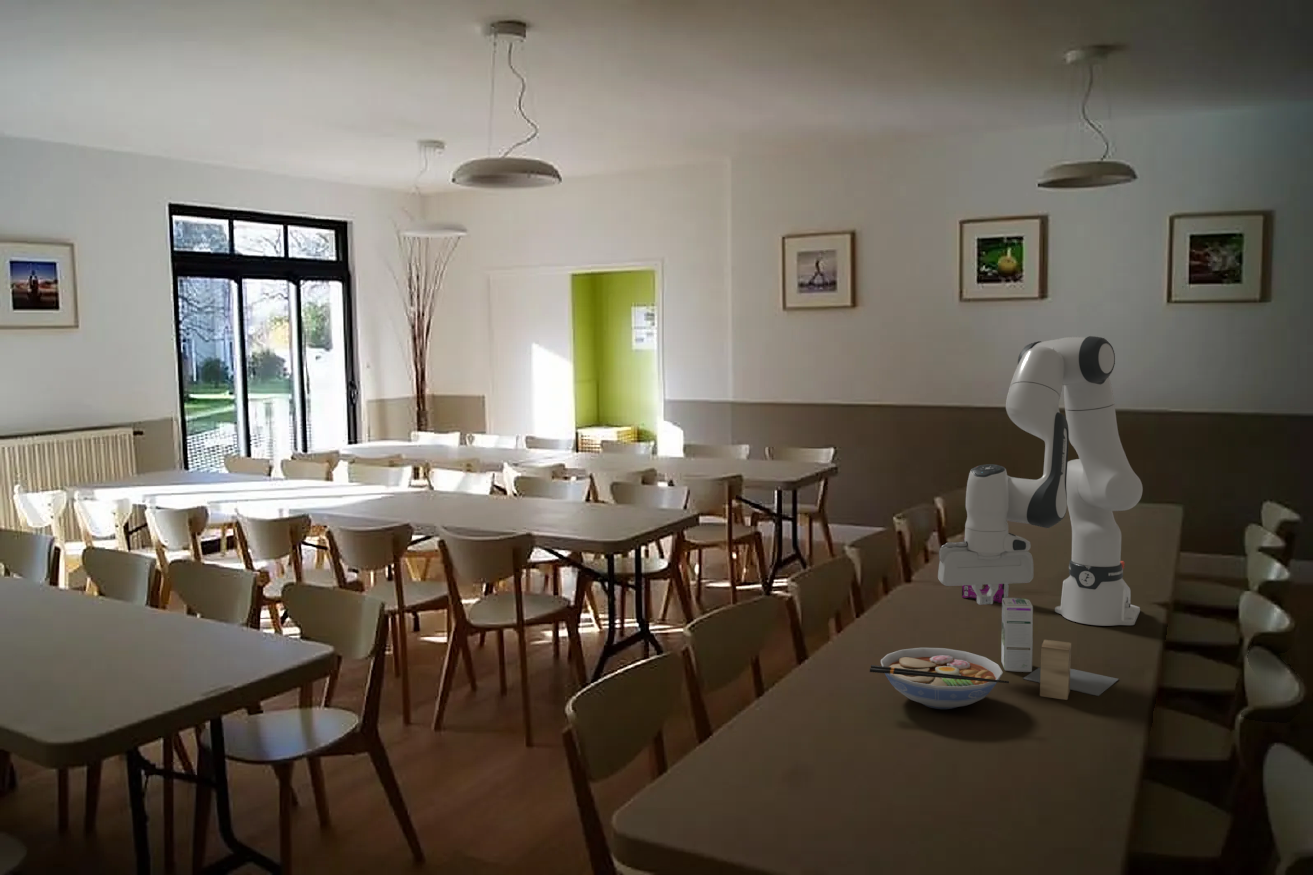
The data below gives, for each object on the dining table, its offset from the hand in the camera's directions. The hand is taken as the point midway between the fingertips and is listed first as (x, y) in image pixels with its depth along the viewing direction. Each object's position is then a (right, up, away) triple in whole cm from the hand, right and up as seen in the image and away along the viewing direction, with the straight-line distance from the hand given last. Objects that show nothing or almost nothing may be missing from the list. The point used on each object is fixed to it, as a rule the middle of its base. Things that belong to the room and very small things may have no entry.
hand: (984, 603), depth 220 cm
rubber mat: (+14, -14, -11) cm, 23 cm away
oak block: (+8, -15, -19) cm, 25 cm away
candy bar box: (+16, -7, +50) cm, 53 cm away
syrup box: (+5, -13, -4) cm, 15 cm away
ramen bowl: (-16, -16, -23) cm, 32 cm away
